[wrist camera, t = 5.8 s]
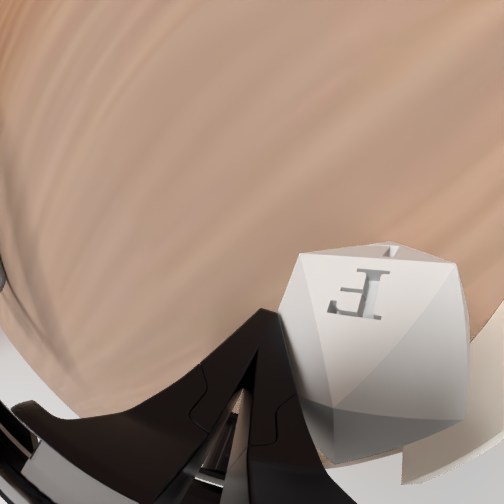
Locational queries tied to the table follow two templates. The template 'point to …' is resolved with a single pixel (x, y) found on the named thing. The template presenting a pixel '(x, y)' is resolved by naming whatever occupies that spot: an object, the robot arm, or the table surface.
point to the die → (376, 347)
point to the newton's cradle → (2, 277)
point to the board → (467, 412)
